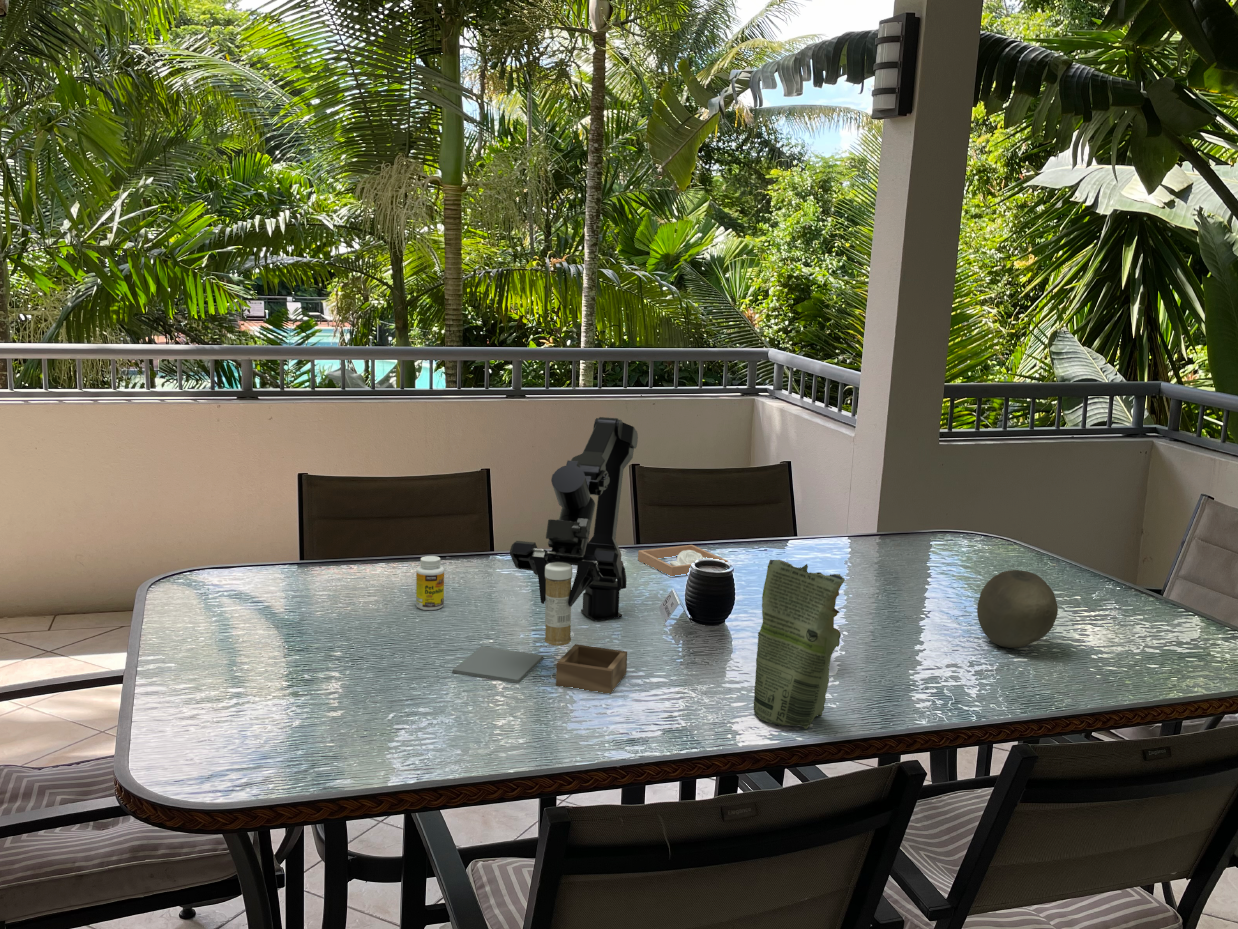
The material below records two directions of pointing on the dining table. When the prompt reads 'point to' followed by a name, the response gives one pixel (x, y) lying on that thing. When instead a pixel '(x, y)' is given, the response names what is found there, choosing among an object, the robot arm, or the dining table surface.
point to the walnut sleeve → (591, 668)
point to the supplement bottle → (430, 584)
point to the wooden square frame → (652, 556)
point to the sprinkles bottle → (558, 603)
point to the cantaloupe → (1016, 608)
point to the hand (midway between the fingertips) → (555, 604)
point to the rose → (686, 558)
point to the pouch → (795, 644)
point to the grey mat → (498, 664)
